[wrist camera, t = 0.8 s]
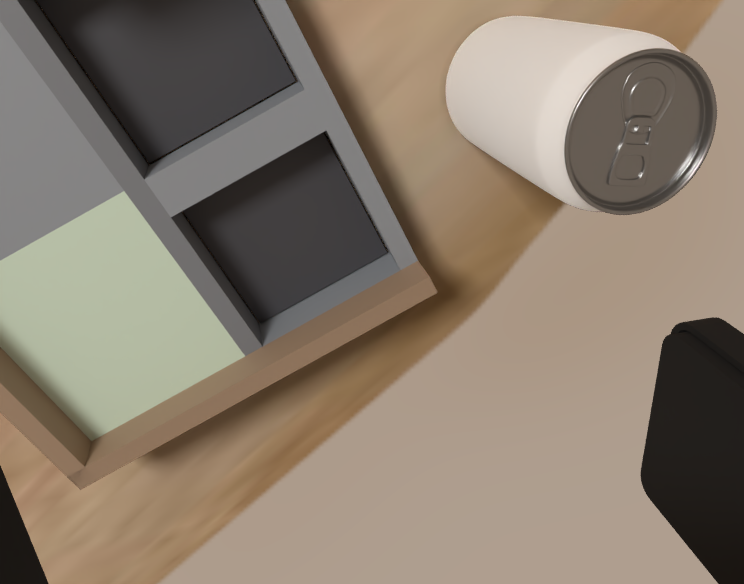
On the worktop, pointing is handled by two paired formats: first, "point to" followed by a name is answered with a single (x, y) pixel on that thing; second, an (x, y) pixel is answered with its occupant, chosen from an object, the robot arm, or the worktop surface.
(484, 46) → the can
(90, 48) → the trap deck
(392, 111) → the worktop surface
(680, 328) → the robot arm
